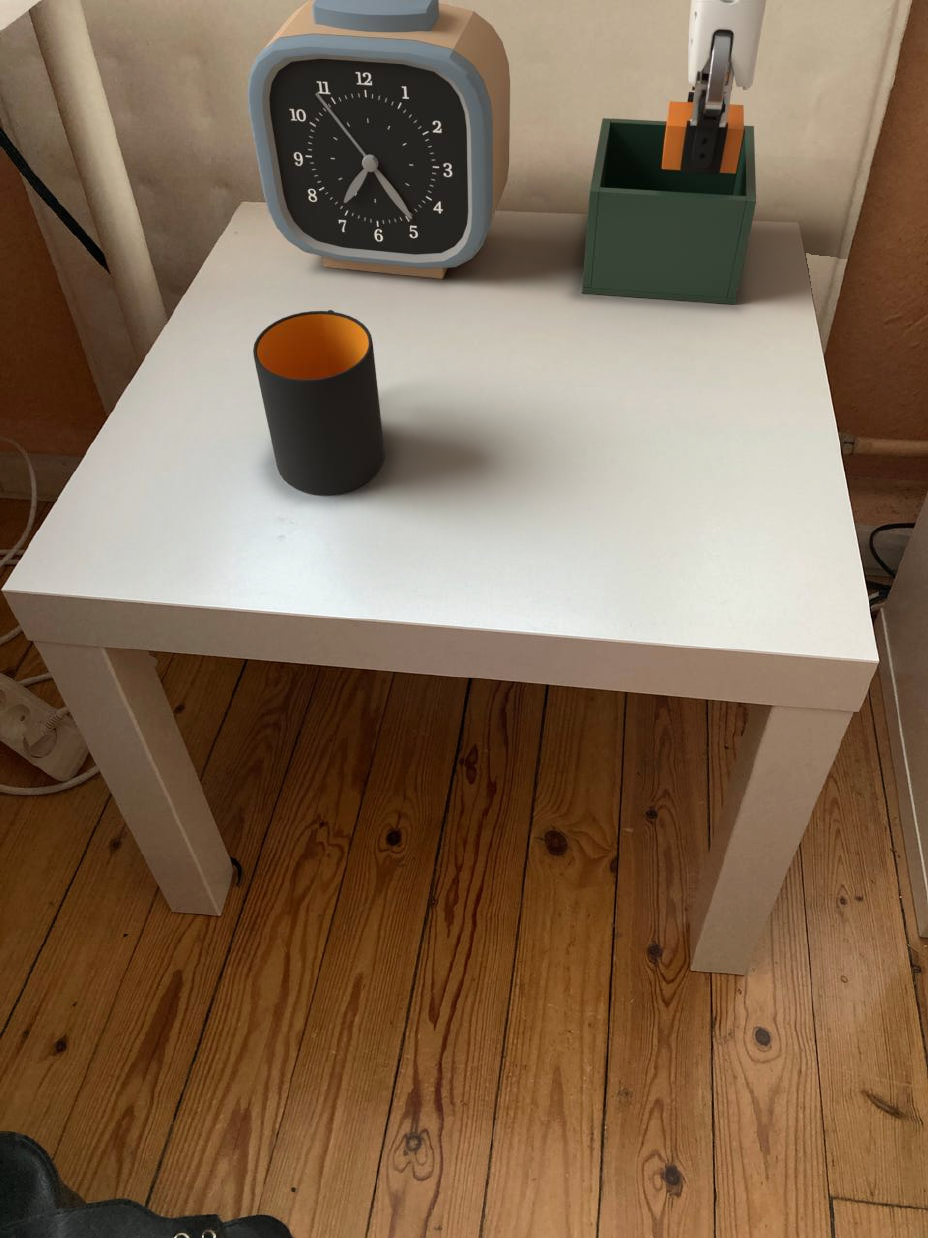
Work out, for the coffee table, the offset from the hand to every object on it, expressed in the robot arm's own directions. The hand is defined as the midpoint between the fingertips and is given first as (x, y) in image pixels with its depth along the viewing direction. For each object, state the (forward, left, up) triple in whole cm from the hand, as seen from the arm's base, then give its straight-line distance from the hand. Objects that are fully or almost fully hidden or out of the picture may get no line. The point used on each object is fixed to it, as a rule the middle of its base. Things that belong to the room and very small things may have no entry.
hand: (700, 154), depth 85 cm
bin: (+2, -3, -11) cm, 12 cm away
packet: (0, 0, 0) cm, 0 cm away
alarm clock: (+27, -1, -12) cm, 30 cm away
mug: (+26, +27, -12) cm, 39 cm away
